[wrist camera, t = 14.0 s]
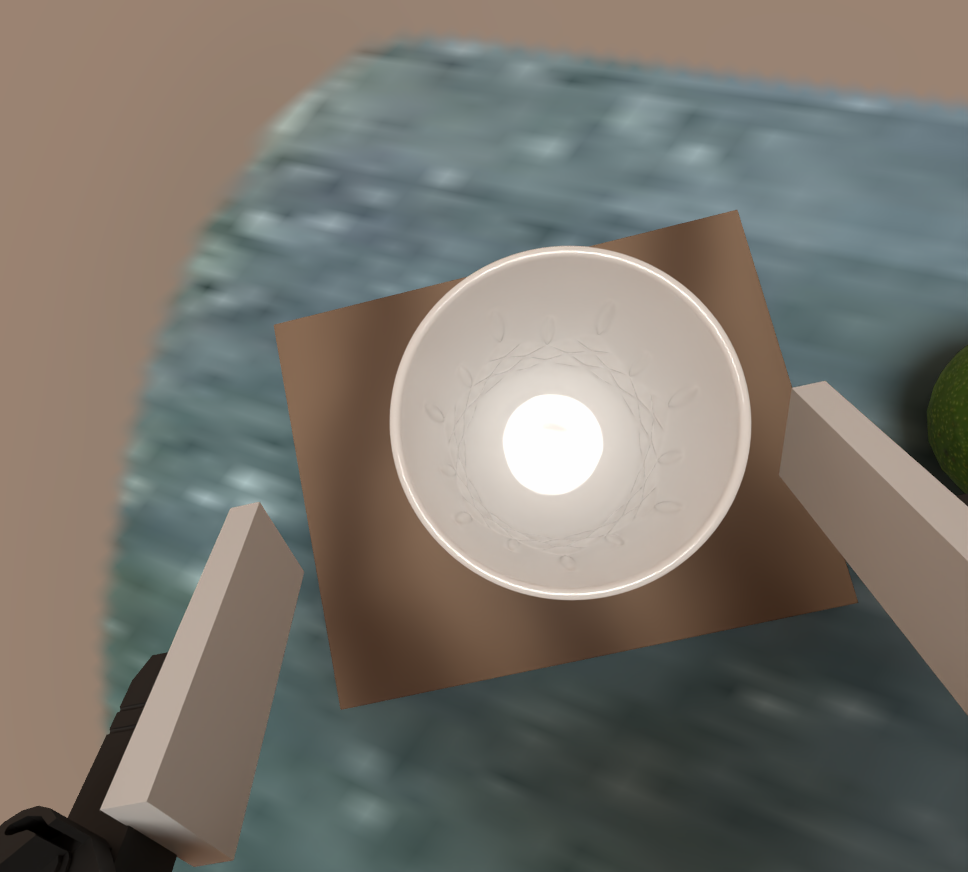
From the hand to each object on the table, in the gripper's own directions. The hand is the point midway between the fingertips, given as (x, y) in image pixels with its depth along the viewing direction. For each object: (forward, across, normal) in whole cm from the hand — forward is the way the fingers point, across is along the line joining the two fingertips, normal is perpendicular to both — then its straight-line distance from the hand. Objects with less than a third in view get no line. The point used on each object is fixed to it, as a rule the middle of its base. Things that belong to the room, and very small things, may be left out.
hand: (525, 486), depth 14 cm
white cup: (+7, +1, -5) cm, 8 cm away
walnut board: (+8, +1, -5) cm, 9 cm away
